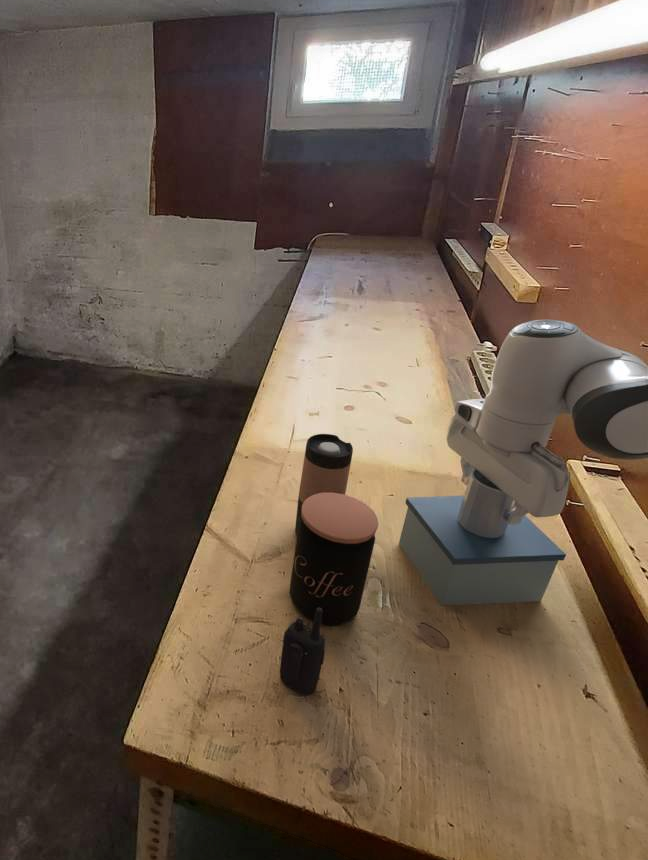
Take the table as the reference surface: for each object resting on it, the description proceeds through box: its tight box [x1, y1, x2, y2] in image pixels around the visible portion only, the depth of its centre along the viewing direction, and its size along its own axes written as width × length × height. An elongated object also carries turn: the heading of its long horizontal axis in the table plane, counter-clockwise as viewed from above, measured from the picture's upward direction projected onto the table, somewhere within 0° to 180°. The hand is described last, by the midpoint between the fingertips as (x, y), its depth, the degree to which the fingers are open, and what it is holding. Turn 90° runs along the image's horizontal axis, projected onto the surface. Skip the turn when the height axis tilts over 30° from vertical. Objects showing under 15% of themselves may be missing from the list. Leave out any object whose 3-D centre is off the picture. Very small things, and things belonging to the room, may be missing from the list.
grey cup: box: [457, 468, 515, 538], centre depth 89 cm, size 7×7×9 cm
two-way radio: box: [279, 608, 326, 696], centre depth 75 cm, size 6×4×15 cm
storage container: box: [398, 494, 567, 606], centre depth 93 cm, size 17×15×10 cm
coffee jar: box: [289, 493, 379, 627], centre depth 87 cm, size 11×11×18 cm
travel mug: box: [294, 433, 354, 538], centre depth 100 cm, size 8×8×20 cm
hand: (488, 501), depth 89 cm, fingers open, 8 cm apart
